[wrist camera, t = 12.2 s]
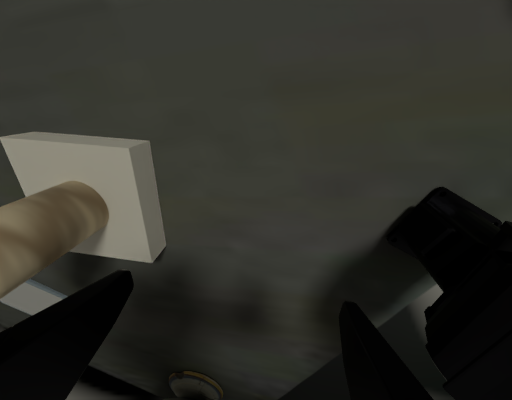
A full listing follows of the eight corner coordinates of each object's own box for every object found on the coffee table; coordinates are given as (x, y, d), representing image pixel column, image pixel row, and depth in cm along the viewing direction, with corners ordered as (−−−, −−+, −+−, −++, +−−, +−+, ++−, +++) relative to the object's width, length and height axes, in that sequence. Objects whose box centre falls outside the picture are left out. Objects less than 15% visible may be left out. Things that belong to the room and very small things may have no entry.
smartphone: (89, 340, 37) (-3, 301, 35) (93, 334, 38) (4, 296, 36) (97, 313, 33) (-5, 268, 32) (102, 307, 34) (3, 263, 32)
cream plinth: (149, 140, 21) (128, 148, 18) (166, 245, 26) (152, 263, 23) (34, 131, 22) (-1, 137, 19) (72, 233, 27) (49, 248, 25)
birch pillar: (119, 214, 21) (-94, 361, 10) (89, 237, 23) (-119, 384, 11) (75, 170, 20) (-237, 278, 8) (47, 198, 22) (-239, 319, 10)
